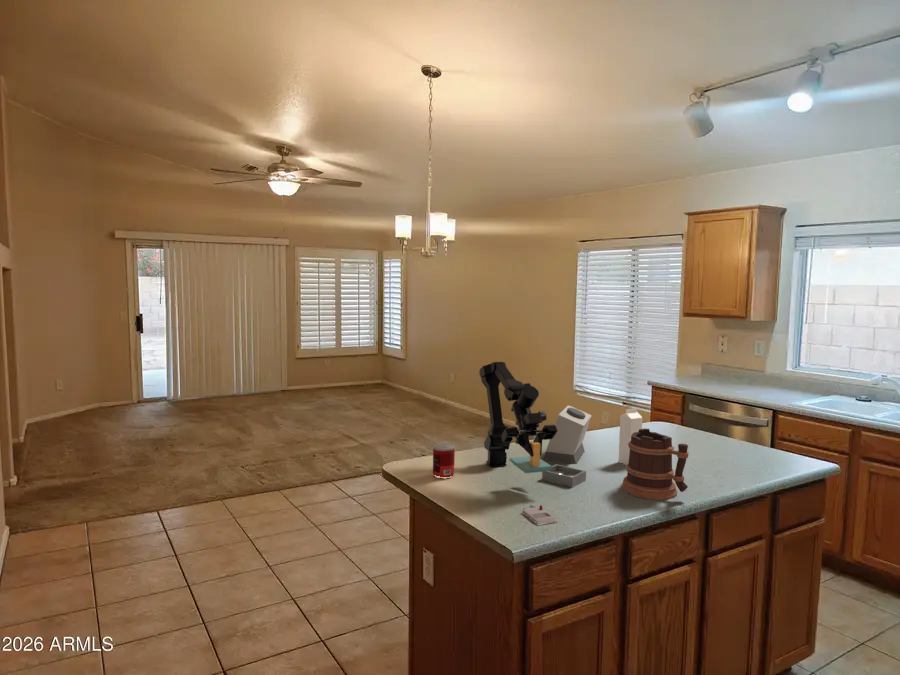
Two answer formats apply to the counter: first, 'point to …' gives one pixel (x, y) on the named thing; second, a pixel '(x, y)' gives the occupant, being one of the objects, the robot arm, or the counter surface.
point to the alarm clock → (568, 436)
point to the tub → (563, 479)
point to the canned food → (443, 460)
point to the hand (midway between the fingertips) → (536, 455)
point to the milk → (628, 432)
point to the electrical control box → (539, 515)
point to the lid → (531, 461)
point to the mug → (654, 466)
